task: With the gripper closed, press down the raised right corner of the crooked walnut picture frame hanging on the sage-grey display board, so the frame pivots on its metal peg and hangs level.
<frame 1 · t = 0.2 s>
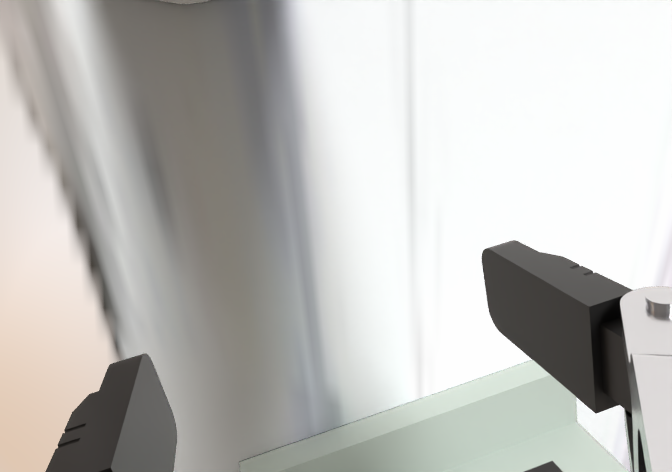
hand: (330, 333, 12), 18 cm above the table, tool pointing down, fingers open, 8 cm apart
display board: (418, 467, 37), on the table
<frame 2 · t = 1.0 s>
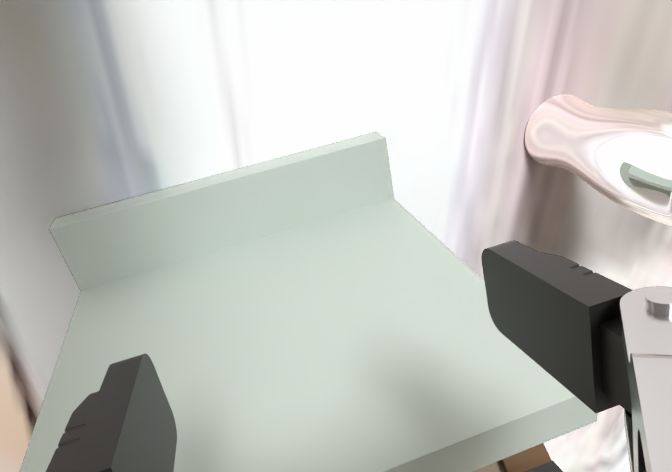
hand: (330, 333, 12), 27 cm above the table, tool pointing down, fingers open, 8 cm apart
display board: (246, 242, 39), on the table
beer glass: (553, 129, 43), on the table
frame: (330, 450, 26), point 18 cm above the table, hinge at 14.0°
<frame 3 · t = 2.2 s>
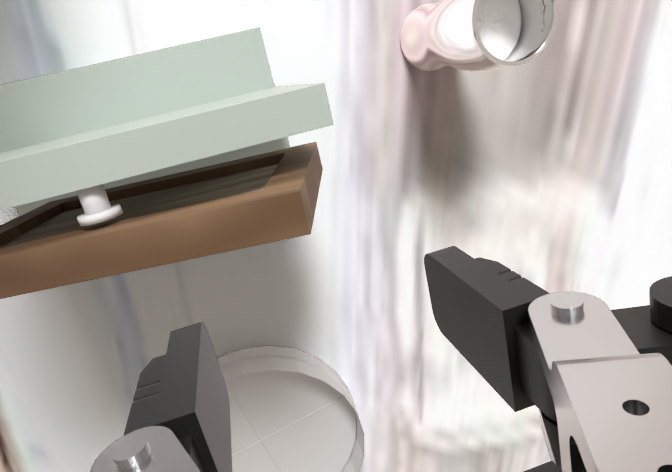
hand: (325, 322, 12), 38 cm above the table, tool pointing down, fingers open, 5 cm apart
dish: (260, 430, 57), on the table
display board: (146, 129, 45), on the table
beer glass: (428, 38, 48), on the table
frame: (148, 213, 29), point 18 cm above the table, hinge at 14.0°
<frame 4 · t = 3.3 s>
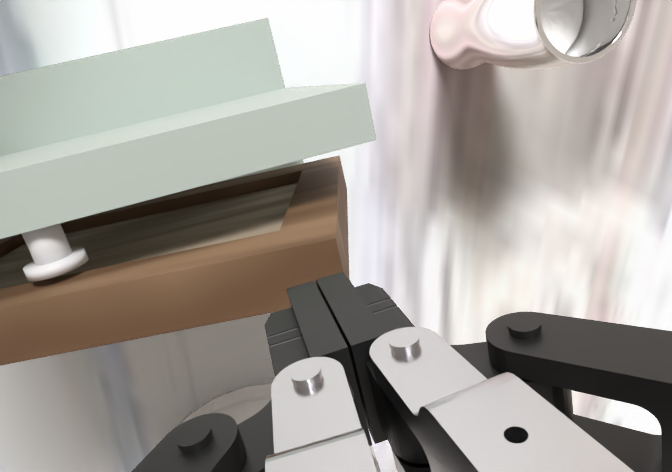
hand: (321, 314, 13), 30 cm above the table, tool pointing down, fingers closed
display board: (134, 137, 38), on the table
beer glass: (461, 31, 42), on the table
frame: (129, 251, 23), point 18 cm above the table, hinge at 14.0°
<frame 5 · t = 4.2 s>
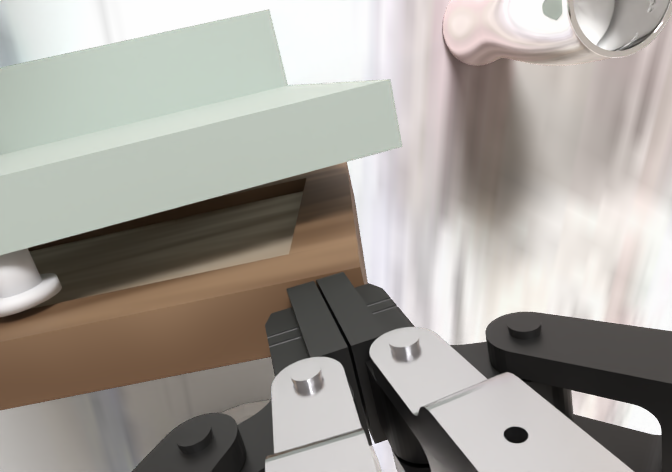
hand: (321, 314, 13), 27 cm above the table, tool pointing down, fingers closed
display board: (125, 139, 35), on the table
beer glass: (476, 25, 39), on the table
frame: (112, 272, 20), point 18 cm above the table, hinge at 13.1°, touching gripper
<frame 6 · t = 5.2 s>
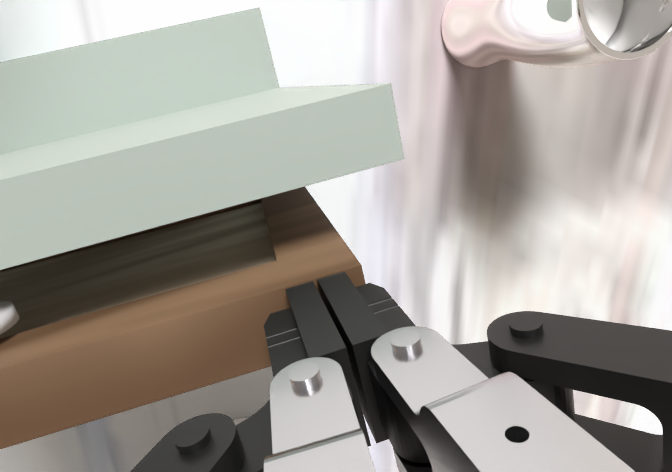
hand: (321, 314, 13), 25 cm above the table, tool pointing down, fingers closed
display board: (107, 143, 34), on the table
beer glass: (476, 25, 38), on the table
frame: (58, 299, 18), point 18 cm above the table, hinge at 2.3°, touching gripper
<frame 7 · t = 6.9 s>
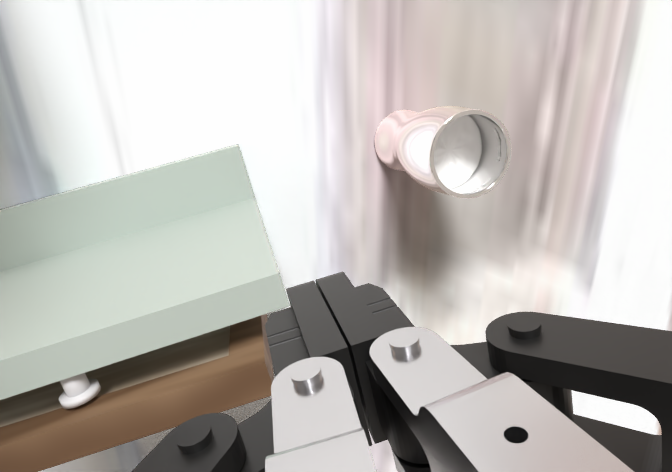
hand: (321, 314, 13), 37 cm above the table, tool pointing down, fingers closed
display board: (135, 238, 48), on the table
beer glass: (401, 140, 51), on the table
frame: (113, 368, 32), point 18 cm above the table, hinge at 2.2°
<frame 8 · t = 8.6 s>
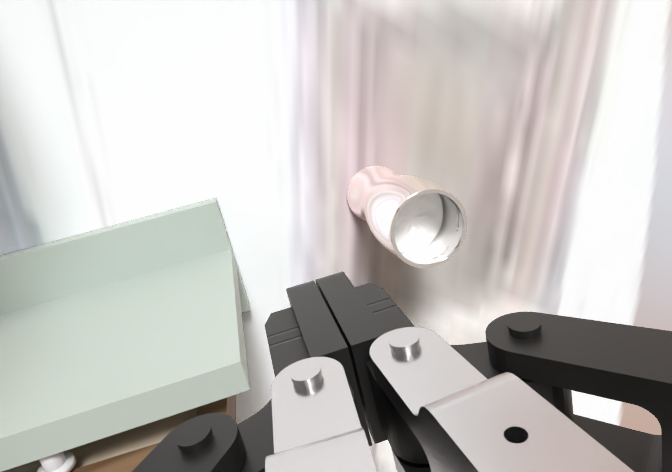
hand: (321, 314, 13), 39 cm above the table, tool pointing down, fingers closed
display board: (116, 285, 50), on the table
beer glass: (373, 193, 54), on the table
frame: (90, 431, 34), point 18 cm above the table, hinge at 2.2°
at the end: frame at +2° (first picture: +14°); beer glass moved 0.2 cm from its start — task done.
